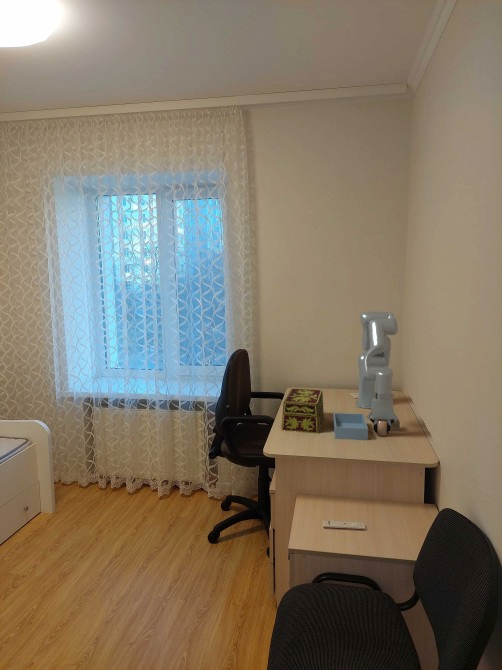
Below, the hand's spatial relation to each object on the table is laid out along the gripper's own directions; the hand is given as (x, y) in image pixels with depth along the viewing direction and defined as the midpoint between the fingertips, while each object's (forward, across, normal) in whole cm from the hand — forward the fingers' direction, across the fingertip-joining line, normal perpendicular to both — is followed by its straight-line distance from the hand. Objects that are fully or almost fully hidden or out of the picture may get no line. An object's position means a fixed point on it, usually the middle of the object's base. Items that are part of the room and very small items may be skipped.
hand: (381, 431), depth 221 cm
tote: (+2, +15, -4) cm, 16 cm away
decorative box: (+3, +38, -14) cm, 40 cm away
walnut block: (+2, -7, -8) cm, 11 cm away
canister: (+1, 0, 0) cm, 1 cm away
